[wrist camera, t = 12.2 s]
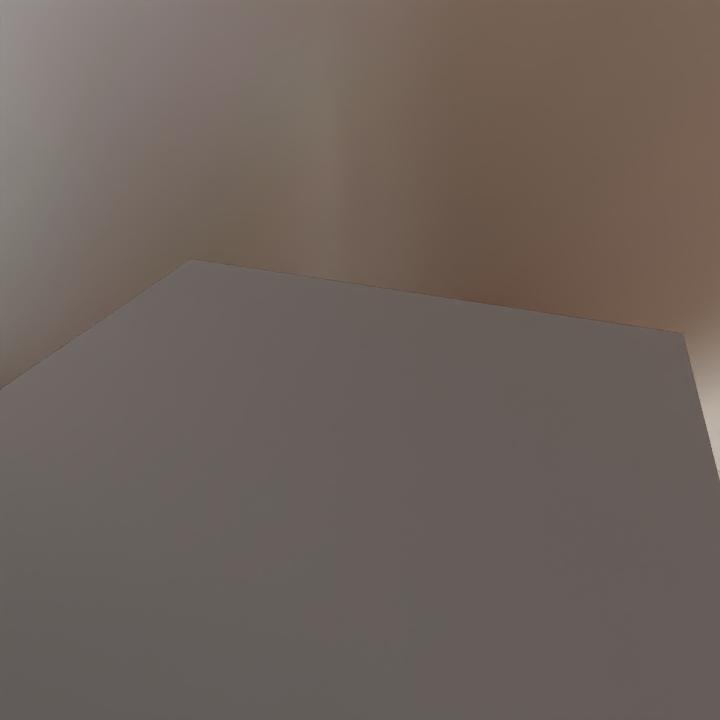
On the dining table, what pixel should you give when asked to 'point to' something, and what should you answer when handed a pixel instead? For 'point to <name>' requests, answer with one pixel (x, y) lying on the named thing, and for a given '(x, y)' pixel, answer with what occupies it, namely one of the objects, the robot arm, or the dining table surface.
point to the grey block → (356, 512)
